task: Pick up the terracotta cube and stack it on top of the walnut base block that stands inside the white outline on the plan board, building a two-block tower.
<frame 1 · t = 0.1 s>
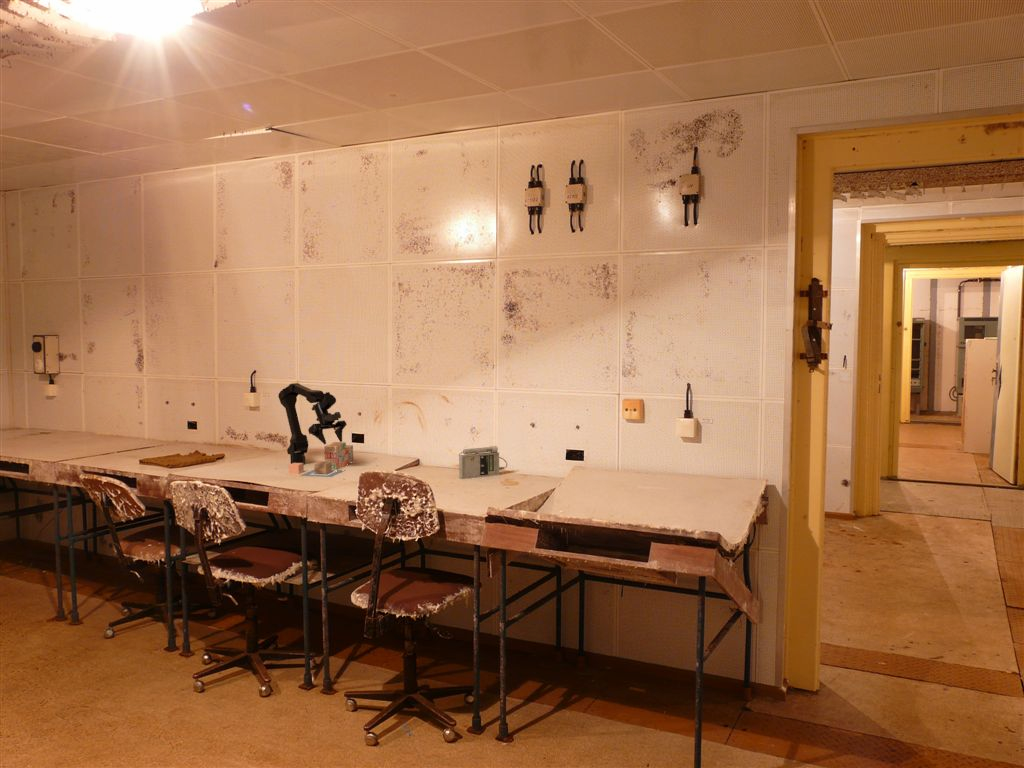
hand: (333, 442, 379), 15 cm above the table, tool tilted 30°, fingers open, 9 cm apart
geiger counter: (483, 476, 373), on the table
terracotta cube: (296, 474, 380), on the table
stack of blocks: (339, 467, 399), on the table
walnut base block: (323, 473, 379), point 1 cm above the table, touching plan board
plan board: (323, 474, 379), on the table
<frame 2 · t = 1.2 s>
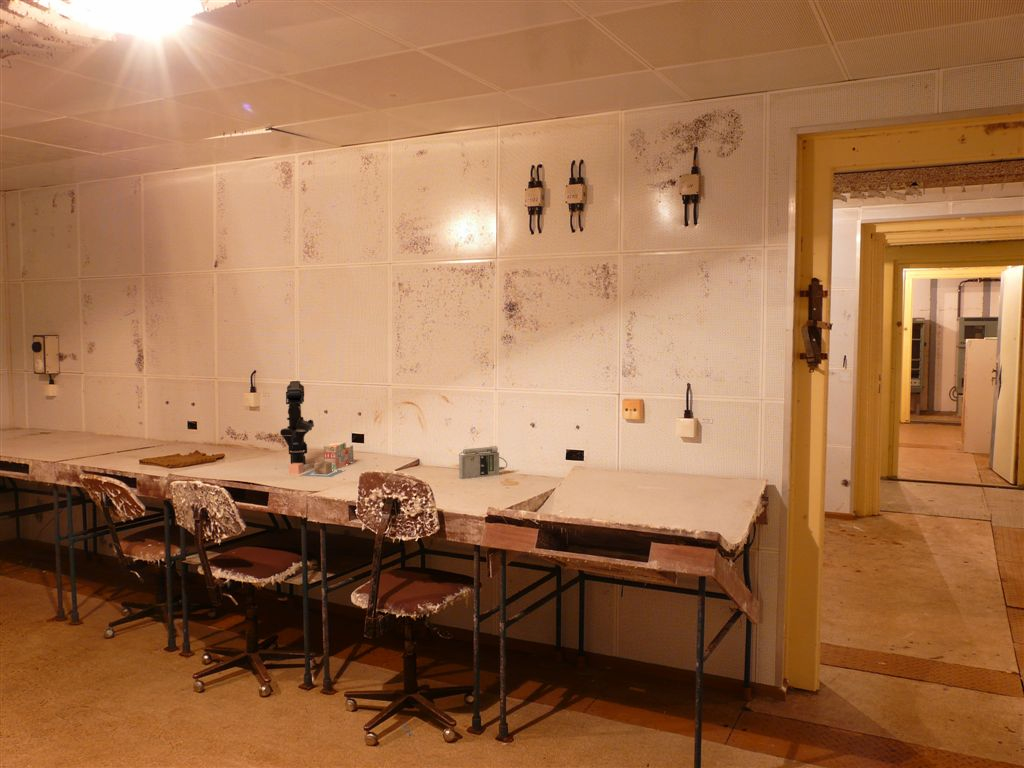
hand: (295, 447, 379), 13 cm above the table, tool pointing down, fingers open, 9 cm apart
nothing on the table moved.
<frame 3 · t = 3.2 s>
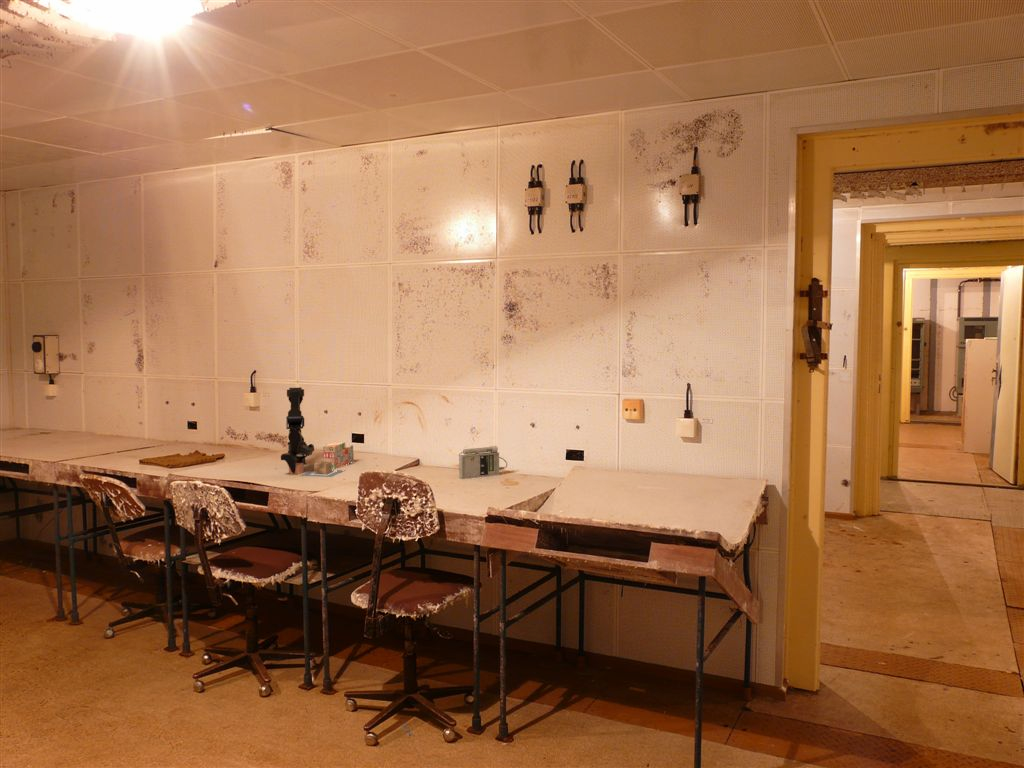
hand: (296, 471, 380), 1 cm above the table, tool pointing down, fingers closed on terracotta cube, 5 cm apart
terracotta cube: (296, 474, 380), on the table, touching gripper
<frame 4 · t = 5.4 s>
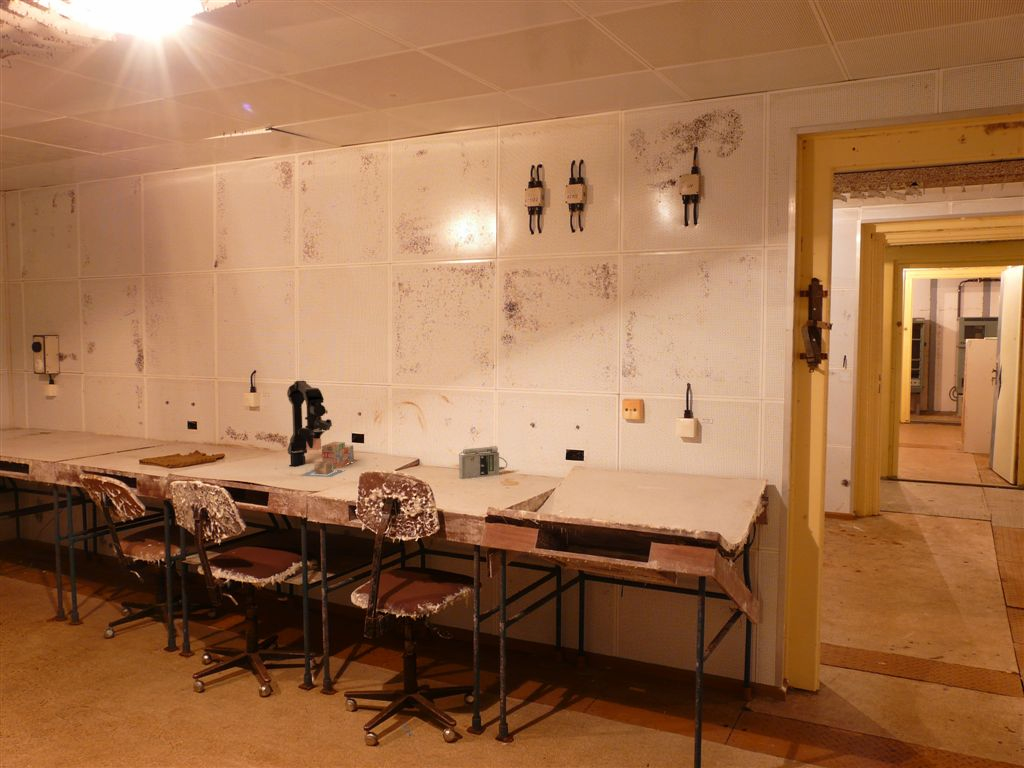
hand: (314, 447, 378), 13 cm above the table, tool pointing down, fingers closed on terracotta cube, 5 cm apart
terracotta cube: (314, 449, 378), point 12 cm above the table, touching gripper
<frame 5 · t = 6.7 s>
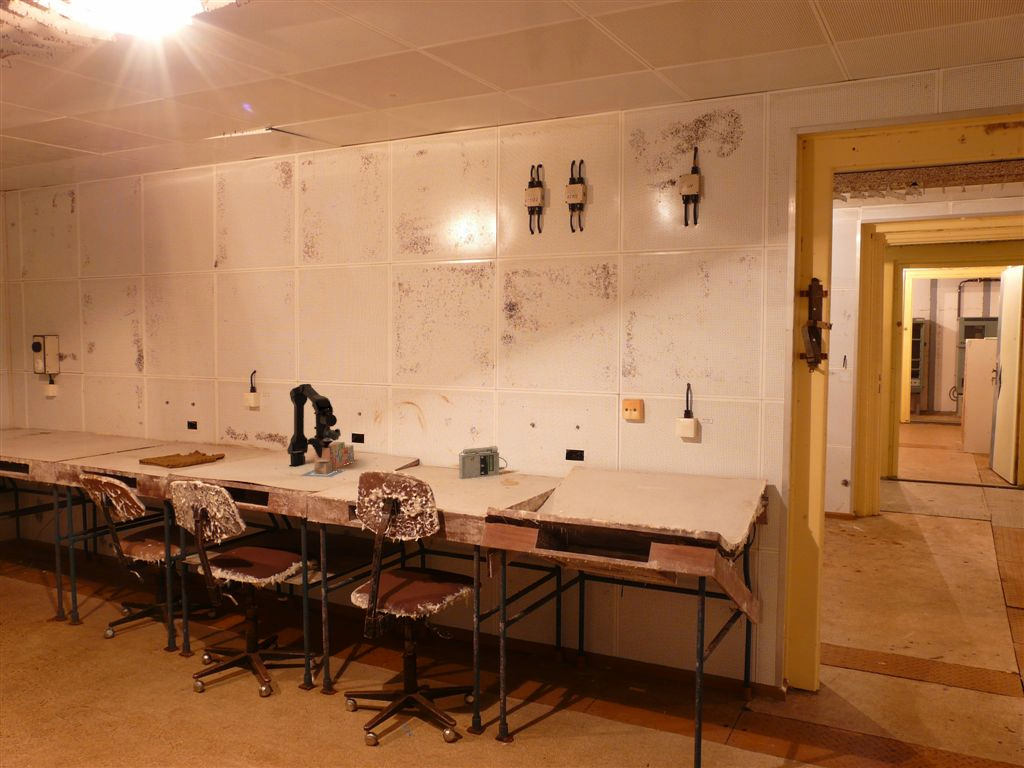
hand: (322, 456, 378), 8 cm above the table, tool pointing down, fingers closed on terracotta cube, 5 cm apart
terracotta cube: (322, 458, 378), point 7 cm above the table, touching gripper
when the fingers open (8 cm above the table, at t = 7.6 s): terracotta cube drops 1 cm, resting on walnut base block.
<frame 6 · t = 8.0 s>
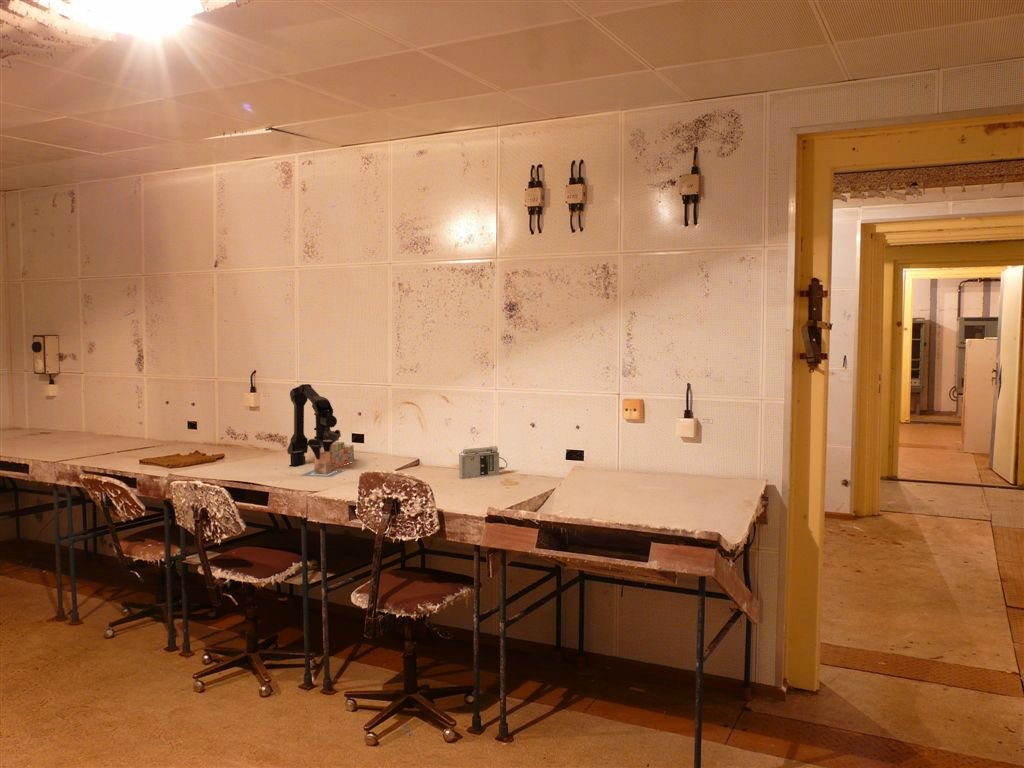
hand: (322, 457, 378), 8 cm above the table, tool pointing down, fingers open, 9 cm apart
terracotta cube: (322, 462, 378), point 6 cm above the table, touching walnut base block
walnut base block: (323, 473, 379), point 1 cm above the table, touching plan board, terracotta cube
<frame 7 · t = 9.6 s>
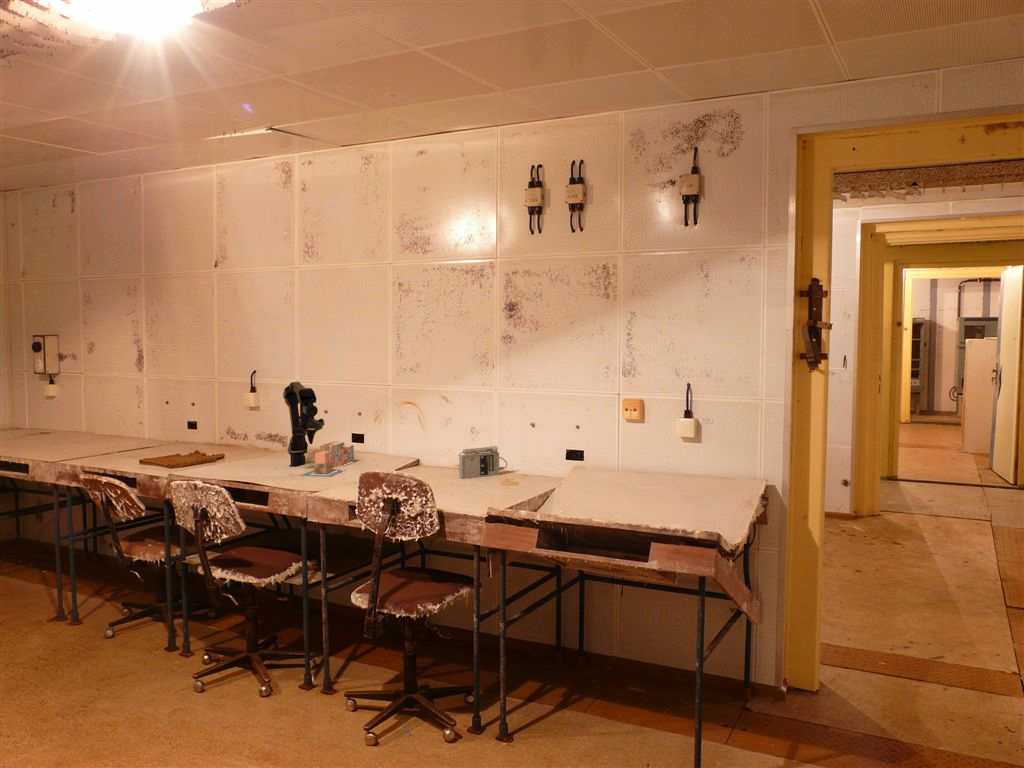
hand: (306, 445, 385), 13 cm above the table, tool pointing down, fingers open, 9 cm apart
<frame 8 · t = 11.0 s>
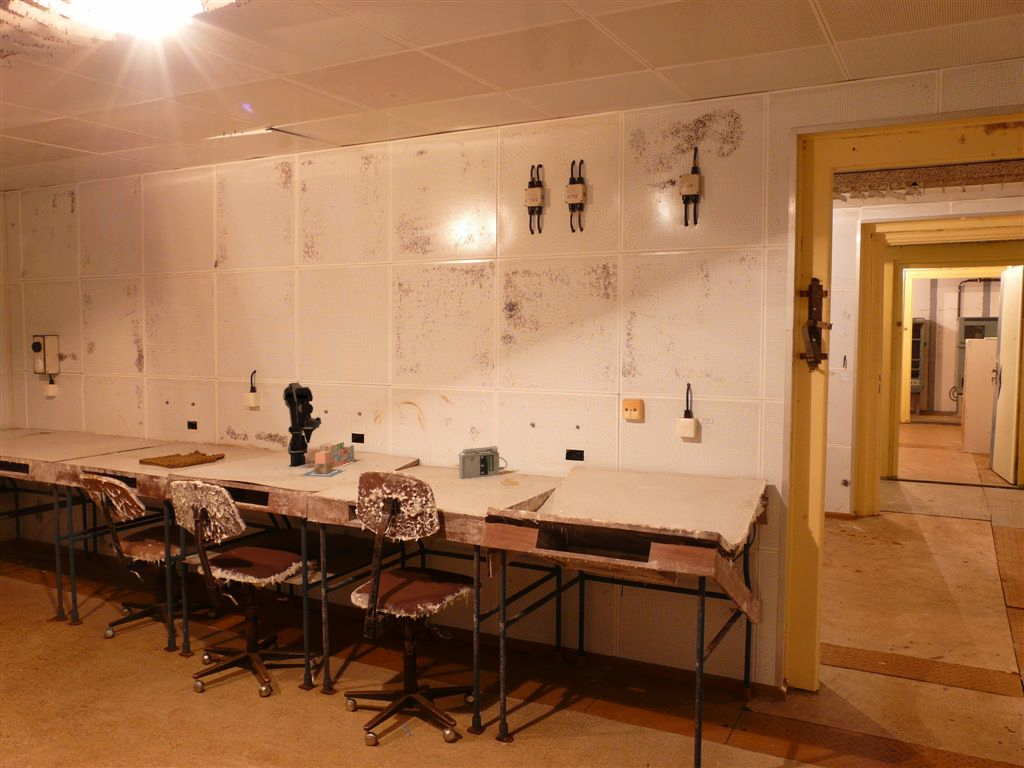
hand: (303, 444, 387), 13 cm above the table, tool pointing down, fingers open, 9 cm apart
at the end: terracotta cube 0.0 cm off-centre on the walnut base block, point 5.0 cm above the walnut base block's base; terracotta cube tilted 0°; the gripper is holding nothing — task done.
